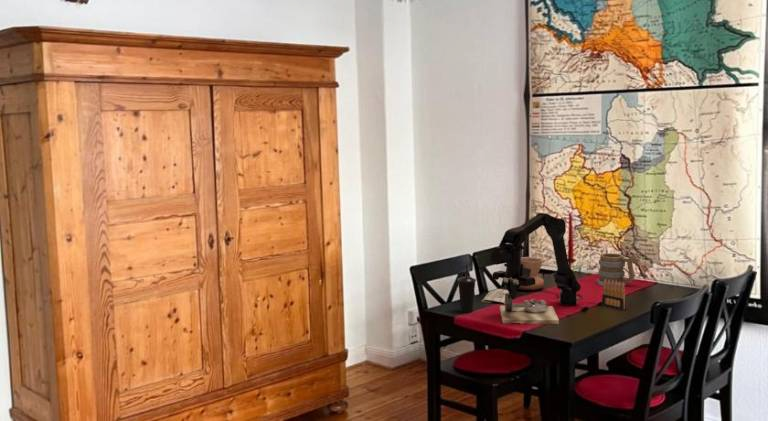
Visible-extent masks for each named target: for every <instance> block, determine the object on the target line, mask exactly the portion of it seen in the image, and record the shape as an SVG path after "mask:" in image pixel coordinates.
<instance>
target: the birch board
mask: <svg viewBox="0 0 768 421" xmlns="http://www.w3.org/2000/svg"><path fill="white" fill-rule="evenodd" d="M499 311H500V317H502V318H501V321H502V322H503V323H502V324H511V323H520V324H522V325H523V324H525V323H526V324H527V325H529V324H531V325H560V319H559V317H558V315H557V313H556V311H555V309H554V307H553V305H546V312H543V313H530V312H526V311H524V307H516V308H512V311H505V305H499ZM526 324H525V325H526Z"/></svg>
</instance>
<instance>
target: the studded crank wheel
mask: <svg viewBox="0 0 768 421" xmlns="http://www.w3.org/2000/svg"><path fill="white" fill-rule="evenodd" d="M504 306H505V311H512V308H516V307H524V311H526V312H530V313H543V312H546V306H547V302H546V300H544V299H539V300H536V298H531V299H530V300H528V299H525V300H524V301H523V303H522V302H520V303H519V302H516V303H514V302H513V299H512V298H511V296H510V294H509V293H505V304H504Z"/></svg>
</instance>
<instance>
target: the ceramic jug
mask: <svg viewBox="0 0 768 421" xmlns="http://www.w3.org/2000/svg"><path fill="white" fill-rule="evenodd" d="M521 263H522V264H523V267H524V268H528V269H531V273H530V277H534V278H535V285H530V286H522V285H521V286H520V288H519V290H523V291H537V290H540V289H542V288H543V287H544V285H545V280H544V279H543V278H542V277H541V276H539V272H540V269H541V267H542V266H543V259H542V258H539V257H534V256H524V257H523V256H521ZM521 277H522V276H521ZM523 277H526V276H523ZM515 279H516V278H515Z"/></svg>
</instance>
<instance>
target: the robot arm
mask: <svg viewBox="0 0 768 421" xmlns="http://www.w3.org/2000/svg"><path fill="white" fill-rule="evenodd" d="M542 226H543V227H544V228H545V231H546V234H547V235H548V236H549V238H550V239H551V243H552V248H553V252H554V253H553V254H554V257H555V261H556V262H555V263H556V268H557V270H556V272H554V274H553V278H554V283H556V287H557V290H560V292H559V303H560V304H561V306H577V305H578V303H577V292H579V291H581V284H580V283H579V282H578V280H577V277H576V275H575V272H574V271H573V270H572V269H571V267H570V263H569V259H568V254H567V249H566V244H565V238H564V236H565V234H566V232H567V230H566V229H567V228H566V220H565V219H563V218H558V217H555V216H553V215H551V214H548V213H545V212H538V213H537V214H535V215H534V216H533V217H531V218H530V219H528V220H527V221H526V222H524V223H522V224H520V225H519V226H517V227H511V228H510V229H507V230H506V231H505V232H504V234H503V237H502V239H501V240H500V242H499V245H498V246H496V247H494V250H493V251H492V252H491V255H490V260H491V262H492V263H493V264H494V265H496V266H498V265H502V264H503V265H504V267H506V268H505V269H506V271H505V270H497V271H493V273H492V274H491V275H492V276H491V277H492V278H491V279H493V280H495V281H498V280H499V279H500V278H501V279H503V281H502V284H503V285H504V286H505V288H506V290H508V292H509V294H510V296H511V298H512V300H515V299H516V297H517V295H518V291H519V290H520V289H519V288H520V286H521V285H522V286H530V285H535V278H534V277H530V273H531V269H528V268H524V267H523V264H522V263H521V257H522V250H525V246H524V245H523V244H524V242H525V241H526V240H527V237H528V236H529V235H531V234H532V233H534V232H535V231H537V230H539V228H540V227H542ZM521 276H522V277H521ZM523 276H526V277H523ZM515 278H516V279H515Z"/></svg>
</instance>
